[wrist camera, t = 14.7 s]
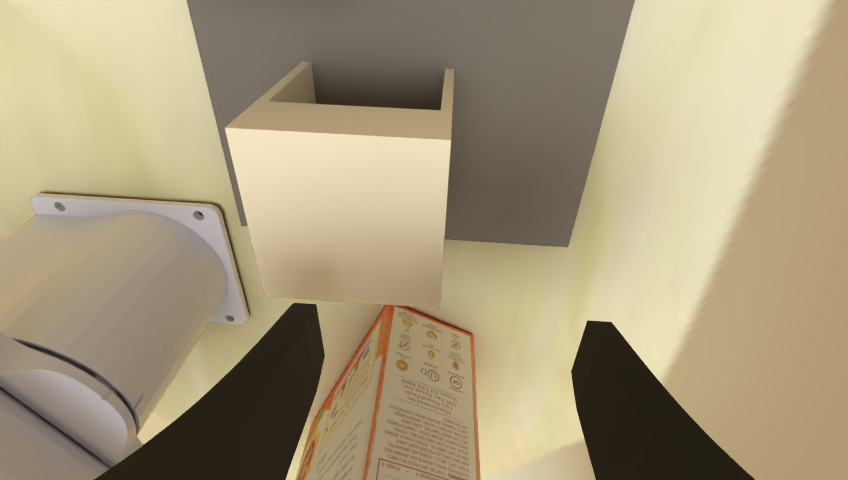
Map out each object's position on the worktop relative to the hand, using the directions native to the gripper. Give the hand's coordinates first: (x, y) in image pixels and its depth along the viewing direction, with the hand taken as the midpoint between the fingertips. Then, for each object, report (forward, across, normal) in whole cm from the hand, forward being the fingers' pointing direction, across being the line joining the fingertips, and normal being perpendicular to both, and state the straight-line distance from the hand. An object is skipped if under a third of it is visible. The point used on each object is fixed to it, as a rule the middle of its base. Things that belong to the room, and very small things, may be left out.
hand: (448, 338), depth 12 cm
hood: (+9, +3, -2) cm, 10 cm away
